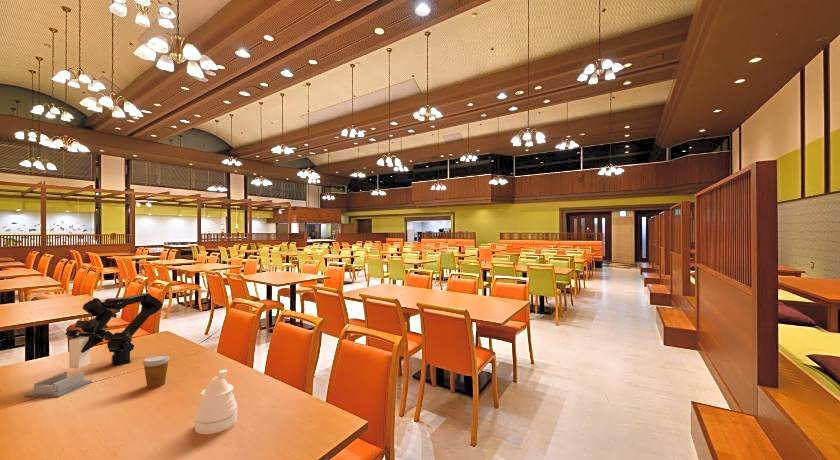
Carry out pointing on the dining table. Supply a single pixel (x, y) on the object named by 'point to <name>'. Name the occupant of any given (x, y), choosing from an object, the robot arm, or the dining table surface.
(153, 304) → the robot arm
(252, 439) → the dining table surface
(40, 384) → the slot rack
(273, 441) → the dining table surface
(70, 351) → the cream block
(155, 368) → the disposable coffee cup
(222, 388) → the honey pot
